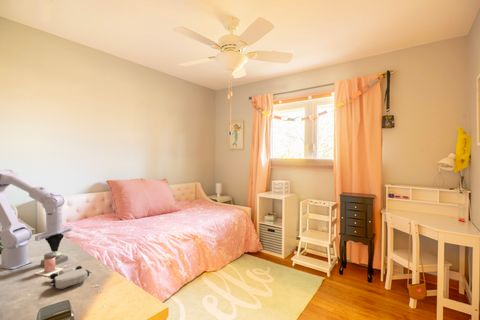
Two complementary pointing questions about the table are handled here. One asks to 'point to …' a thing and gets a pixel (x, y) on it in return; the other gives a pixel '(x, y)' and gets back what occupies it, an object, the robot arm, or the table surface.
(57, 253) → the button
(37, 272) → the cream rectangular plate
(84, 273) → the robot toy
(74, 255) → the table surface
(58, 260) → the button housing
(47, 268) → the marker
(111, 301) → the table surface
